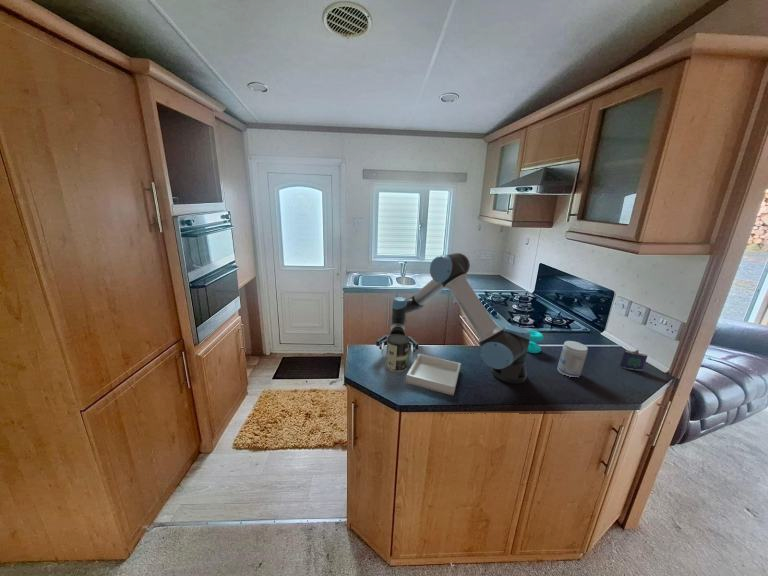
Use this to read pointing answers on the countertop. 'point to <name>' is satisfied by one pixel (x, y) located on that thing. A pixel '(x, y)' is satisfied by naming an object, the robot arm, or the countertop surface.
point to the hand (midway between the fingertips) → (397, 353)
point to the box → (434, 374)
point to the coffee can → (397, 352)
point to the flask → (633, 360)
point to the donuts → (535, 337)
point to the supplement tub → (572, 359)
